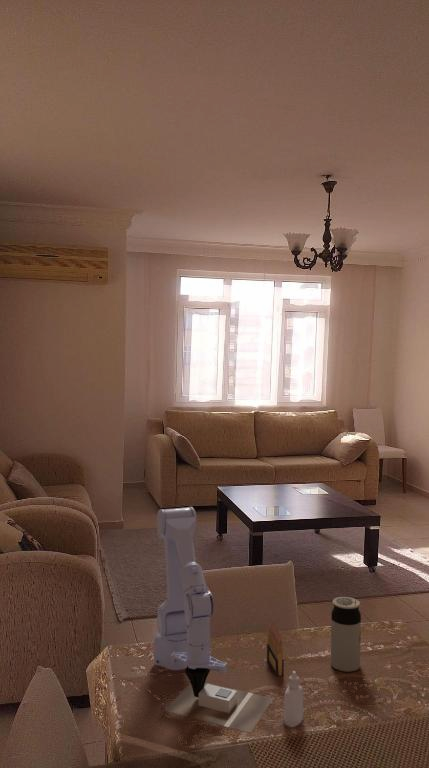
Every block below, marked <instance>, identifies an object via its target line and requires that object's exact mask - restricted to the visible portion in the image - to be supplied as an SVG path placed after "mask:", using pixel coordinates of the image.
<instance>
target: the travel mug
mask: <svg viewBox="0 0 429 768" xmlns="http://www.w3.org/2000/svg"><path fill="white" fill-rule="evenodd" d="M332 604H333V608H332V610H331V612H330V616H331V617H330V619H331V620H330V621H331V622H330V625H331V626H330V666H332V667H333V668H334V669H336V670H338V671H340V672H347V673H349V672H355V671H357V670H359V669H360V667H361V639H362V638H361V635H362V631H361V629H362V614H361V612H360V610H359V609H360V606H361V602H360V601H359V600H358V599H356V598H353V597H348V596H339V597H335V598H334V599H333V600H332Z"/></svg>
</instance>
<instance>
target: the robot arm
mask: <svg viewBox="0 0 429 768" xmlns="http://www.w3.org/2000/svg"><path fill="white" fill-rule="evenodd" d="M197 520H198V518H197V512H196V509H195V508H194V507H193V506H188V507H179V508H178V507H177V508H176V507H175V508H165V509H162V508H160V509H158V511H157V514H156V532H157V538H158V539H162V540H163V543H164V555H165V556H164V557H165V574H166V577H165V578H166V599H165V601H163V602H162V603H161V604H160V605H159V606H158V607H157V617H156V627H157V634H156V636H155V638H154V642H153V667H156V666H158V667H159V666H160V667H162V668H165V669H167V670H171V671H181V670H184V673H185V675H186V677H187V678H188V680H189V684H190V683H191V685H192V689H193V693H194V697H198V698H199V692H200V691H201V690H202V689H203V688H204V684H205V683H206V681H207V678H208V675H209V674H210V672H211V671H214V672H215V671H216V672H218V673H219V674H222V675H224V674H226V673H227V671H228V663H227V662H224V661H221V660H219V659H217V658H215V657H213V656H211V616H213V615H214V611H215V602H214V597H213V594H212V592H211V591H210V588H209V587H207V583H206V580H205V576H204V571H203V569H202V567H203V566H201V565H200V564H199V563H197V560H196V552H195V545H194V540H193V539H194V537H193V535H194V533H195V531H196V527H197V523H198V521H197Z"/></svg>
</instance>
